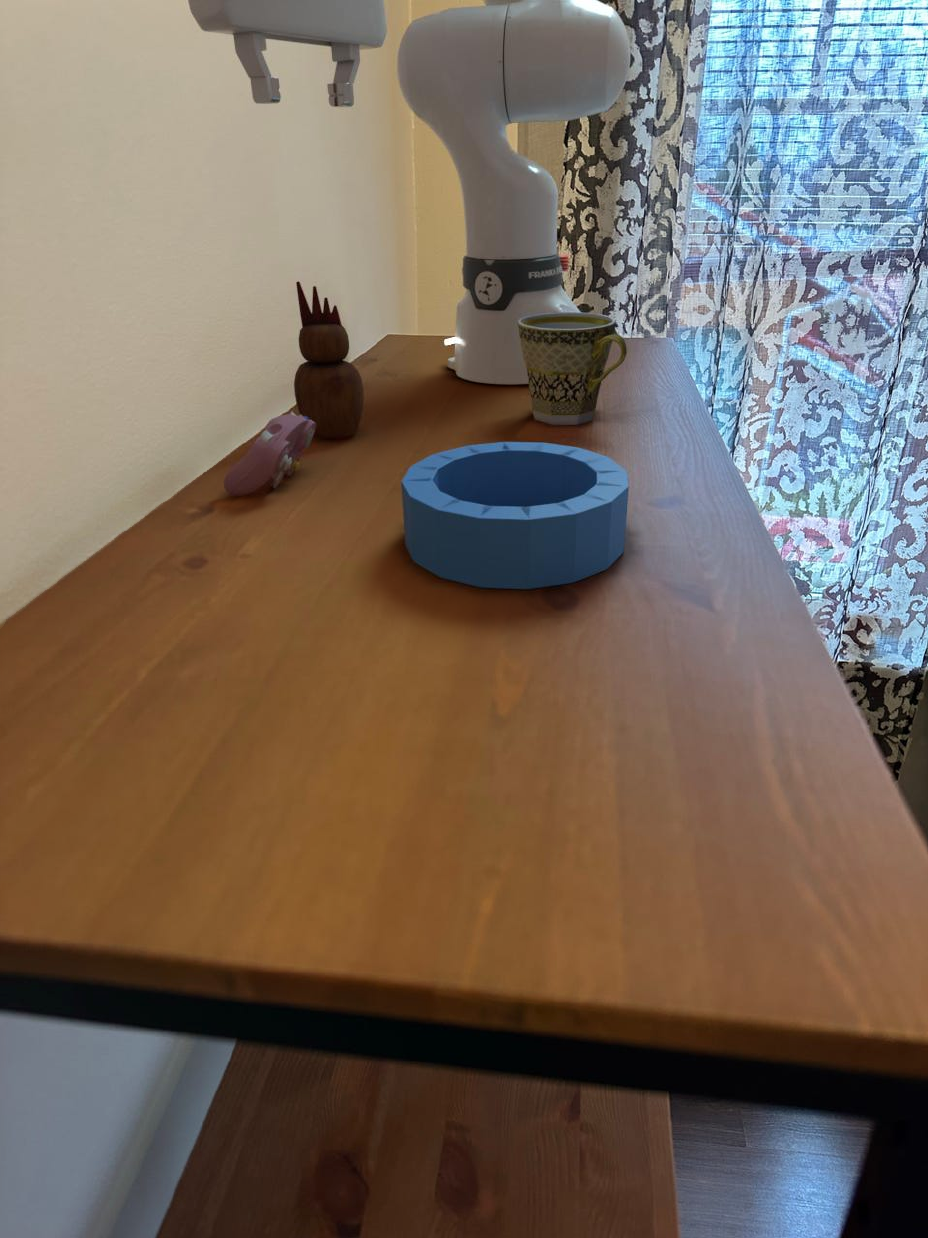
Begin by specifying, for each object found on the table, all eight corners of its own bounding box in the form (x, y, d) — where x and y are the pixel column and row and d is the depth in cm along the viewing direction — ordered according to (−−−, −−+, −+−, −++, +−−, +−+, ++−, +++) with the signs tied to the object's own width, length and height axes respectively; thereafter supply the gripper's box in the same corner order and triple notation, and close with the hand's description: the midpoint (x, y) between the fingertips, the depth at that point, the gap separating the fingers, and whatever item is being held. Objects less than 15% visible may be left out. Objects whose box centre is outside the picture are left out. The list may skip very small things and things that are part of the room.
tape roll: (475, 488, 71) (473, 431, 69) (653, 521, 64) (659, 459, 62) (364, 559, 60) (358, 493, 57) (568, 609, 52) (571, 536, 50)
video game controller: (265, 517, 71) (290, 447, 67) (217, 492, 71) (239, 421, 67) (306, 478, 79) (331, 414, 76) (263, 455, 79) (286, 390, 75)
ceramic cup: (498, 416, 91) (498, 320, 86) (562, 399, 96) (565, 308, 91) (586, 442, 82) (591, 337, 77) (651, 422, 87) (659, 322, 82)
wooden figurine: (291, 441, 85) (270, 284, 77) (317, 425, 90) (300, 276, 82) (351, 445, 83) (335, 285, 75) (374, 429, 88) (362, 277, 80)
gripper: (341, -72, 74) (354, 109, 81) (154, -125, 59) (190, 103, 66) (397, -83, 71) (407, 106, 78) (216, -142, 56) (247, 98, 63)
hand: (306, 105), depth 72 cm, fingers open, 8 cm apart
